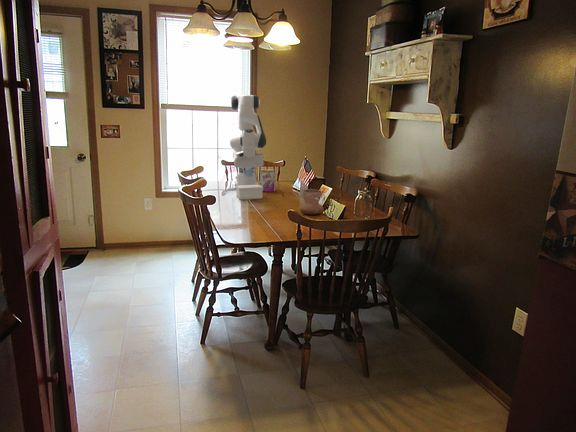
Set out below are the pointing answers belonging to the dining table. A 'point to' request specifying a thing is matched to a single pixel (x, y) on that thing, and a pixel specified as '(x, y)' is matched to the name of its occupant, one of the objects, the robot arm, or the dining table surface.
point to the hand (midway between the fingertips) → (249, 173)
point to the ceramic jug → (311, 202)
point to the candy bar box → (267, 180)
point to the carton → (249, 194)
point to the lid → (249, 187)
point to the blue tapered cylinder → (249, 172)
